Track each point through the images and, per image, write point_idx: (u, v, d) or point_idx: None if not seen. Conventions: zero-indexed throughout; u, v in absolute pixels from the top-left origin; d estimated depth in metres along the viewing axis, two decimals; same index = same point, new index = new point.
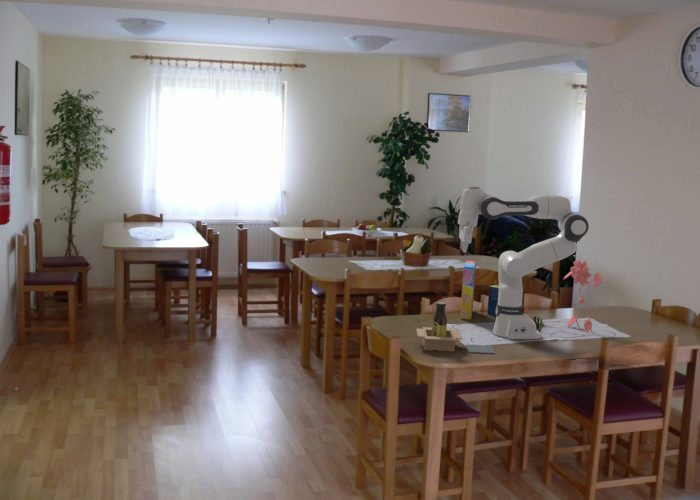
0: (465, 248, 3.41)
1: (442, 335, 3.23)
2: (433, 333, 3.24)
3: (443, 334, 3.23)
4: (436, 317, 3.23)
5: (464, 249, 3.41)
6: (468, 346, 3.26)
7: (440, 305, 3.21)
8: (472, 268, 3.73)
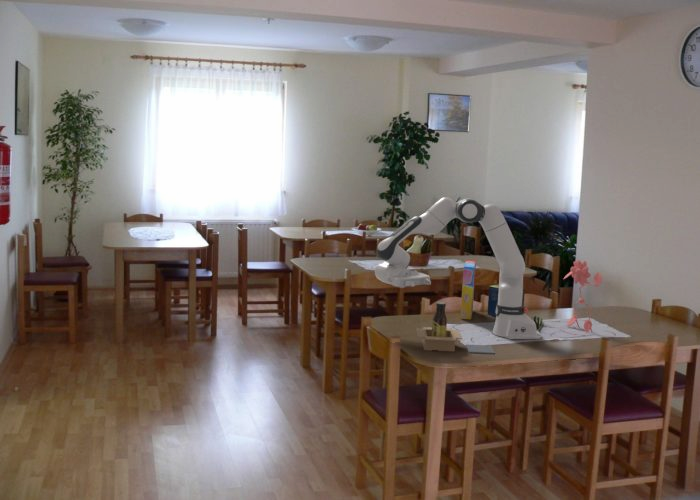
0: (410, 283, 3.30)
1: (442, 335, 3.23)
2: (433, 333, 3.24)
3: (443, 334, 3.23)
4: (436, 317, 3.23)
5: (411, 284, 3.30)
6: (468, 346, 3.26)
7: (440, 305, 3.21)
8: (472, 268, 3.73)
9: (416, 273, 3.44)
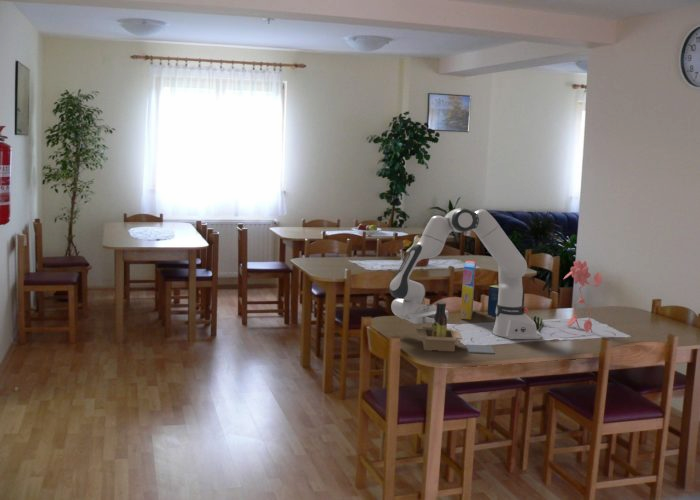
0: (430, 320, 3.23)
1: (442, 335, 3.23)
2: (433, 333, 3.24)
3: (443, 334, 3.23)
4: (436, 317, 3.23)
5: (431, 321, 3.22)
6: (468, 346, 3.26)
7: (440, 305, 3.21)
8: (472, 268, 3.73)
9: (434, 308, 3.36)
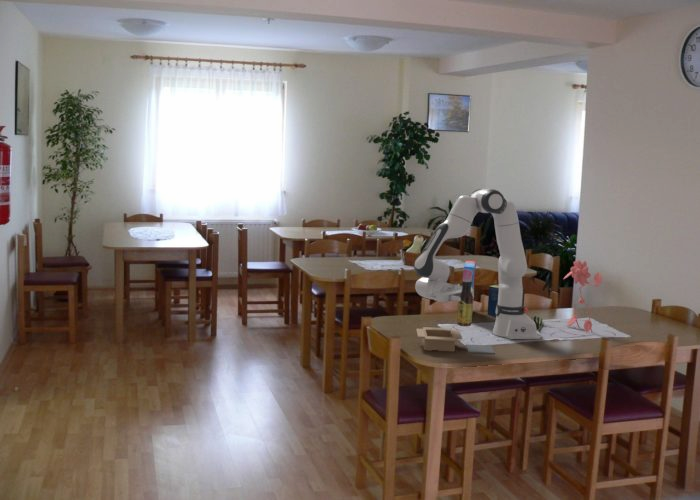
0: (456, 298, 3.20)
1: (468, 313, 3.20)
2: (459, 311, 3.21)
3: (469, 312, 3.20)
4: (462, 295, 3.20)
5: (457, 299, 3.20)
6: (468, 346, 3.26)
7: (466, 283, 3.19)
8: (472, 268, 3.73)
9: (459, 287, 3.33)
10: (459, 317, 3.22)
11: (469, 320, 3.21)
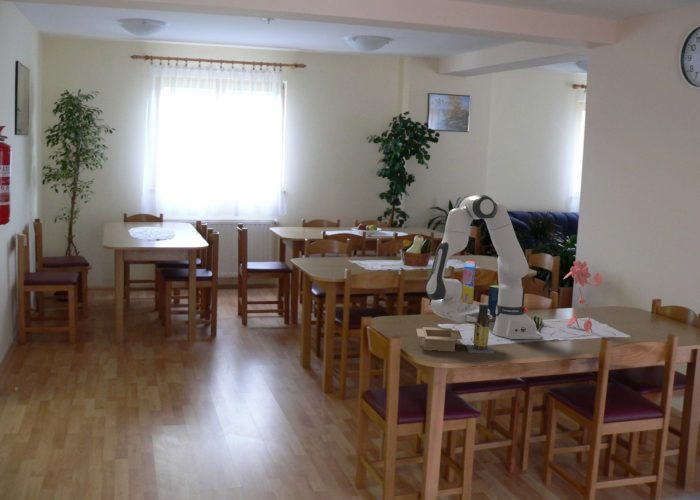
0: (471, 319, 3.19)
1: (485, 336, 3.21)
2: (476, 334, 3.22)
3: (486, 335, 3.21)
4: (479, 318, 3.21)
5: (472, 320, 3.19)
6: (468, 346, 3.26)
7: (483, 306, 3.19)
8: (472, 268, 3.73)
9: (475, 307, 3.33)
10: (475, 340, 3.22)
11: (485, 343, 3.22)
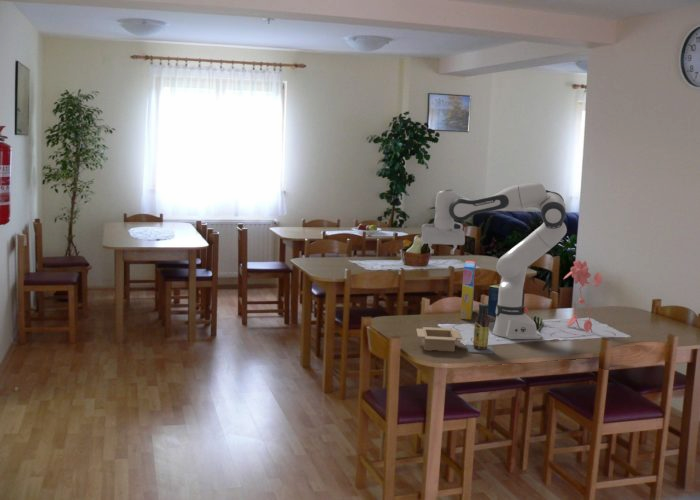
0: (430, 249, 3.47)
1: (484, 337, 3.21)
2: (475, 335, 3.22)
3: (486, 336, 3.21)
4: (479, 318, 3.20)
5: (430, 250, 3.48)
6: (468, 346, 3.26)
7: (483, 306, 3.19)
8: (472, 268, 3.73)
9: (457, 232, 3.44)
10: (475, 340, 3.22)
11: (485, 343, 3.22)
